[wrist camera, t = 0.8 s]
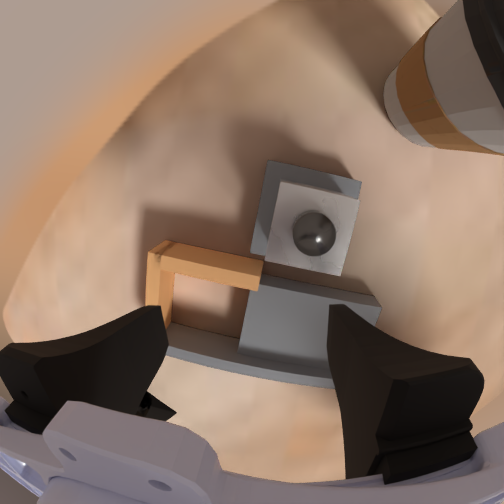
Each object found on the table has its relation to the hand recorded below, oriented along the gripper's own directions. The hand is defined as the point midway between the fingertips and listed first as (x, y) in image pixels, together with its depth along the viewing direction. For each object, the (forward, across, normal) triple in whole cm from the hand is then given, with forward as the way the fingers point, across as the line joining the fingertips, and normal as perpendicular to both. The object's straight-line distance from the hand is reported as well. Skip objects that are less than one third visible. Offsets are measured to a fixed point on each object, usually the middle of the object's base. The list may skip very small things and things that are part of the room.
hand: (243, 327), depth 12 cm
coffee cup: (+10, -12, -11) cm, 19 cm away
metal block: (+8, -3, -3) cm, 9 cm away
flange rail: (+10, 0, +4) cm, 11 cm away
